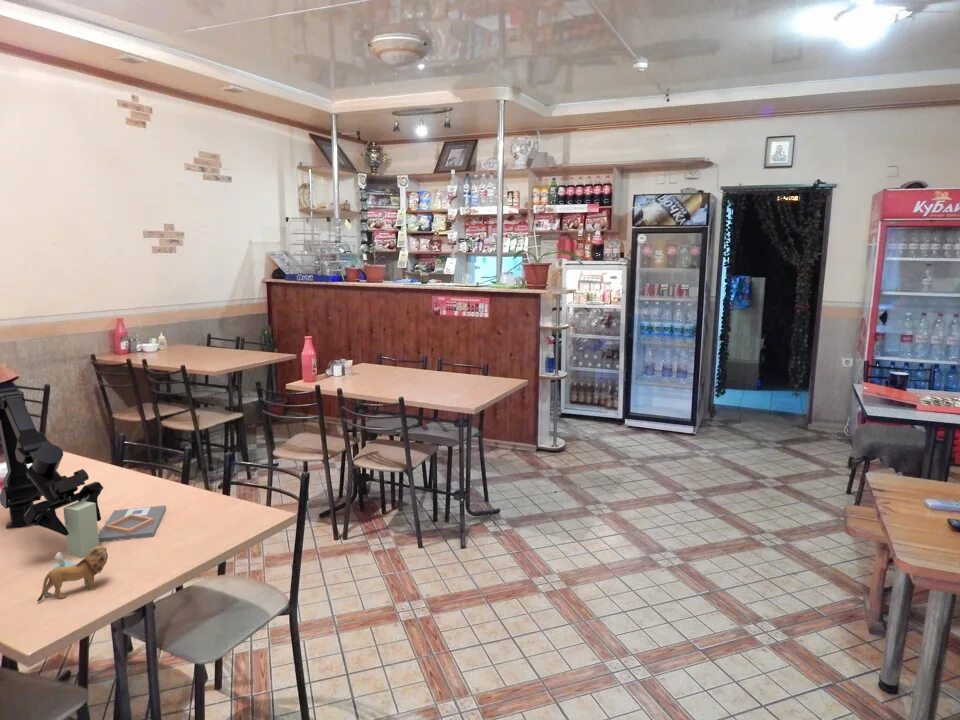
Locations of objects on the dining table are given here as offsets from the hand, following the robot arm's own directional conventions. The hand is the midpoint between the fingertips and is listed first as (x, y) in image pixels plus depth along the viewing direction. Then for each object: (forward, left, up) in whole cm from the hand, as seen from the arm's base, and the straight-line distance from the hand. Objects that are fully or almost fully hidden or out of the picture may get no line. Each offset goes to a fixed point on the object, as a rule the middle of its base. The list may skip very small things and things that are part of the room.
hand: (84, 527), depth 161 cm
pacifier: (+11, -1, -7) cm, 13 cm away
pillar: (-1, -1, -7) cm, 7 cm away
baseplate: (-16, +8, -7) cm, 19 cm away
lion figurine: (+20, +3, -7) cm, 21 cm away
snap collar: (-12, +8, -6) cm, 16 cm away
